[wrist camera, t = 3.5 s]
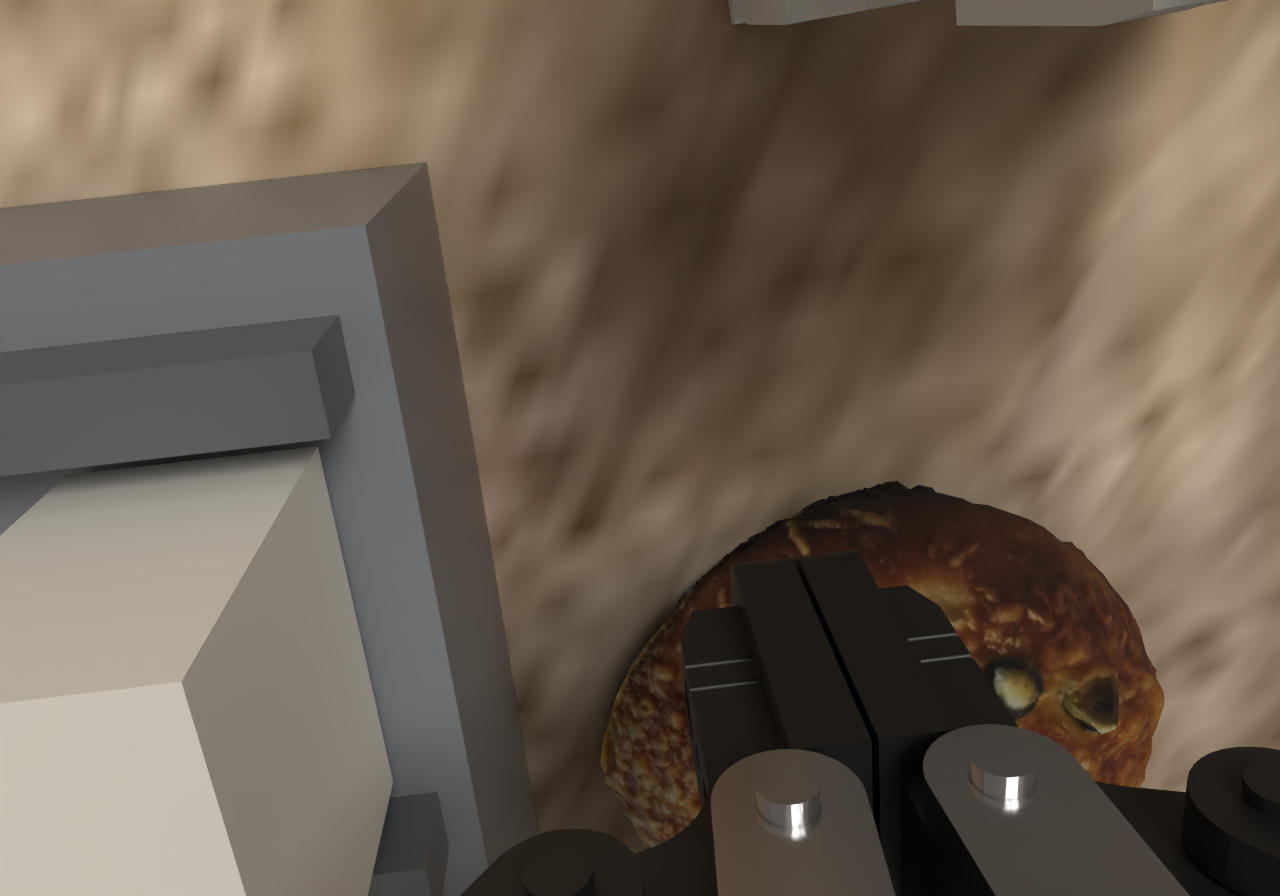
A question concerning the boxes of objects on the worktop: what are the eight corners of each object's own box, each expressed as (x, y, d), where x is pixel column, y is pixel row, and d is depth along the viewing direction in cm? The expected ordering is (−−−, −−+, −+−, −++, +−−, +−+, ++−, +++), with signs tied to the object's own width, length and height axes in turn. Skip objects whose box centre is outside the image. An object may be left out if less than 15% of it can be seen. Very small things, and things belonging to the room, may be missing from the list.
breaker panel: (426, 162, 18) (340, 250, 11) (571, 1030, 25) (574, 1411, 18) (-369, 248, 18) (-981, 395, 11) (14, 1102, 25) (-197, 1518, 18)
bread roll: (1098, 400, 20) (1244, 554, 16) (1123, 794, 26) (1238, 988, 21) (536, 550, 21) (530, 735, 17) (677, 900, 27) (699, 1108, 22)
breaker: (317, 445, 13) (180, 682, 8) (393, 781, 15) (315, 1127, 10) (67, 474, 13) (-212, 728, 8) (174, 808, 15) (-4, 1168, 10)
